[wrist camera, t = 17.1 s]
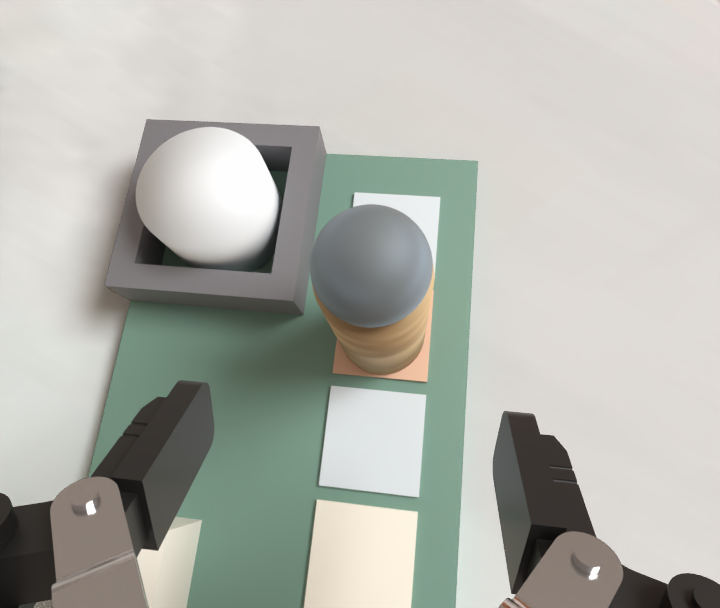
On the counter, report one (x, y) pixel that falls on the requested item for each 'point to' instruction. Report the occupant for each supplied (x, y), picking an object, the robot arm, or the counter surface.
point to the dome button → (211, 200)
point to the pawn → (374, 285)
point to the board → (302, 396)
